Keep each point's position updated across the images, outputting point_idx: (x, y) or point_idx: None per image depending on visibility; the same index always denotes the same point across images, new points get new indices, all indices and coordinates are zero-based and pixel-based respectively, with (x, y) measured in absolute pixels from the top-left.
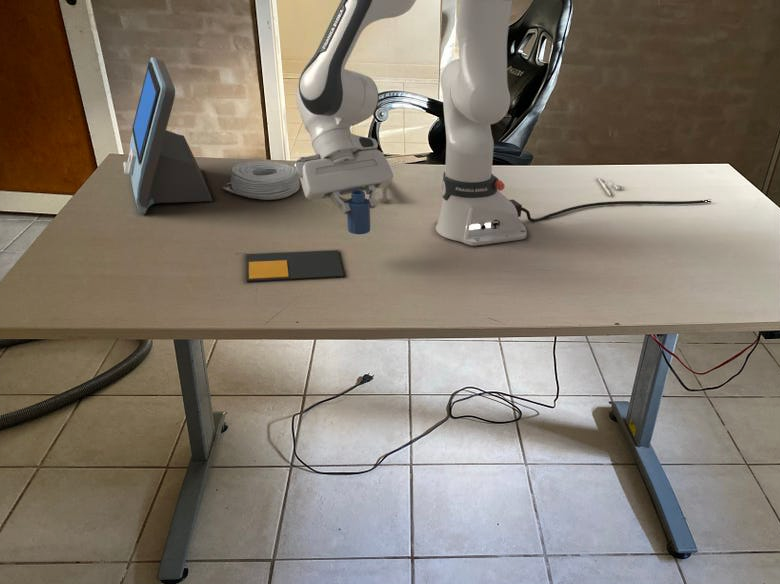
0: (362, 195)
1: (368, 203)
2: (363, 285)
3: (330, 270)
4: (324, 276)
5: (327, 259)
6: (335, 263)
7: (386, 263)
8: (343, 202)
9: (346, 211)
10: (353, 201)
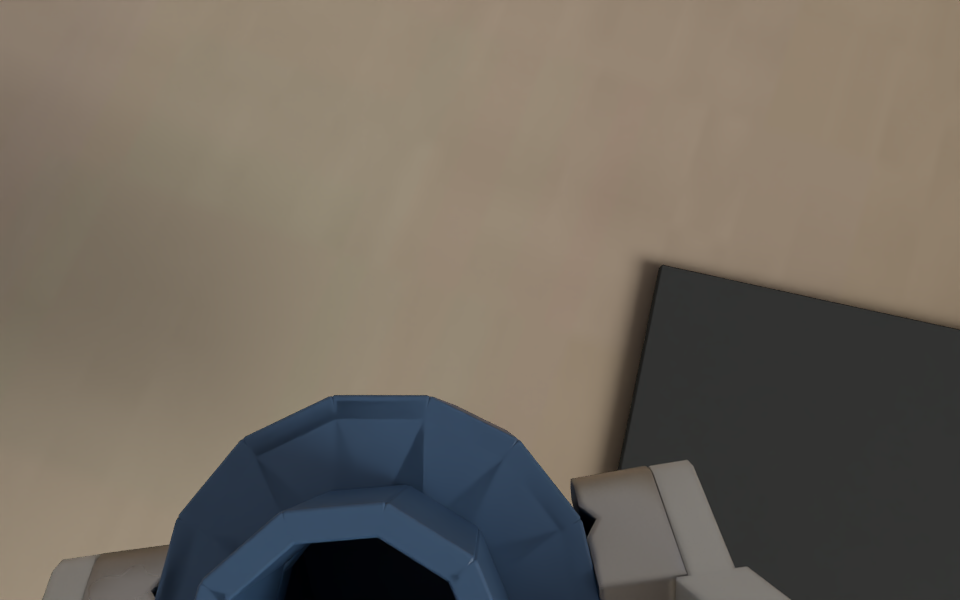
0: (296, 509)
1: (231, 452)
2: (563, 100)
3: (736, 384)
4: (809, 297)
5: None
6: None
7: (262, 389)
8: (702, 591)
9: (651, 468)
10: (494, 570)
